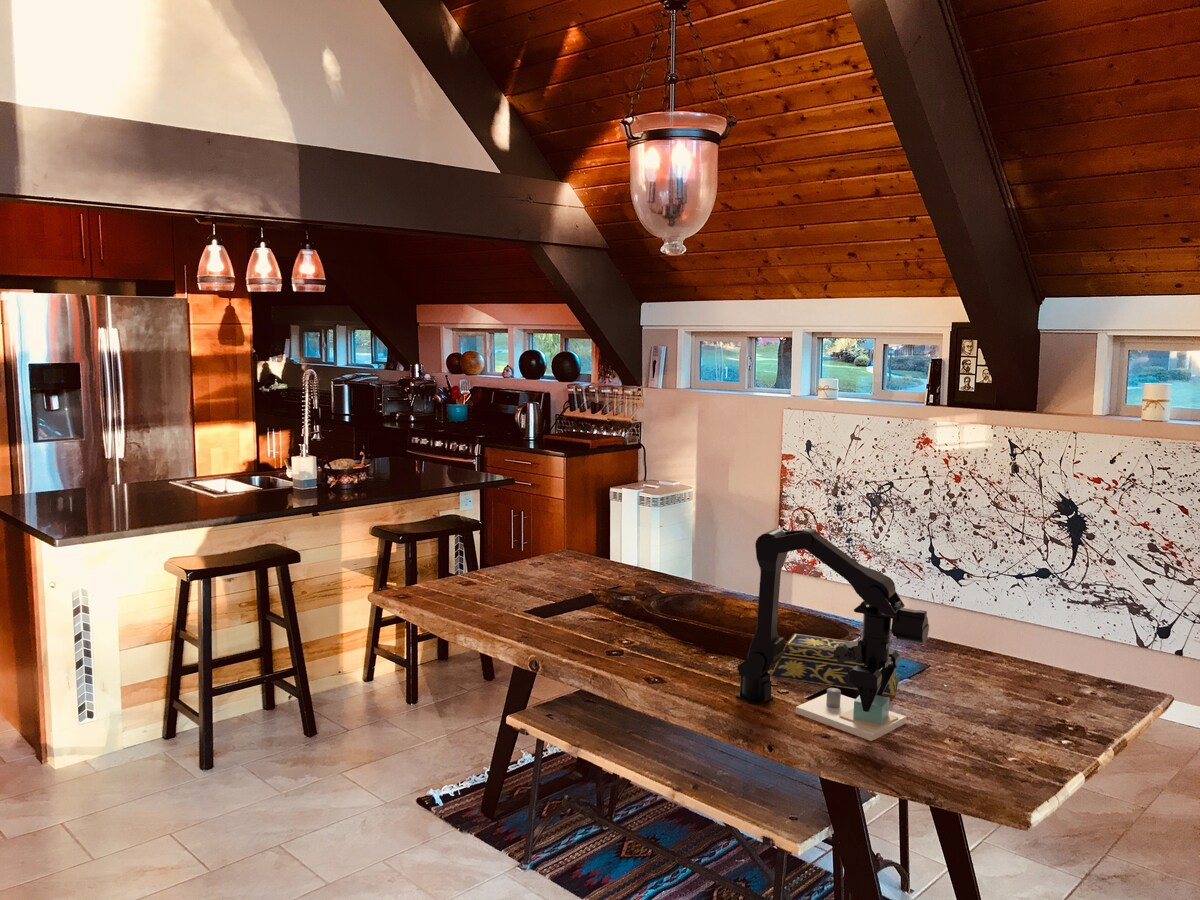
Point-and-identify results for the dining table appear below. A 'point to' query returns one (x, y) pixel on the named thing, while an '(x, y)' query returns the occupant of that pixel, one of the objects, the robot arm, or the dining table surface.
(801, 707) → the board
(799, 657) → the decorative box
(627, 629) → the dining table surface
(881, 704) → the mint green cube
